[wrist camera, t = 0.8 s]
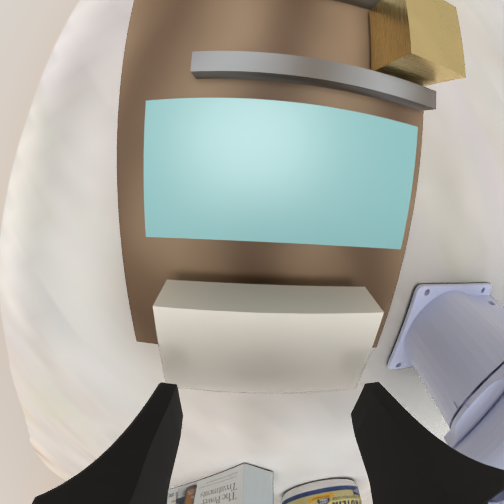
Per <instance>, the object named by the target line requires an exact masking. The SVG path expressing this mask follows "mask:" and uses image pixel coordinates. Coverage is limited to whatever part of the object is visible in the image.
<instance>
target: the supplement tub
mask: <svg viewBox="0 0 504 504" xmlns="http://www.w3.org/2000/svg"><path fill="white" fill-rule="evenodd" d="M281 503H282V504H362V503H361V498H360V494H359V490H358V486H357V485H356V483H355V482H353V481H352V480H348V479H328V480H321V481H316V482H312V483H308V484H304V485H301V486H298V487H296V488H293V489H291V490H289V491H288V492H286V493H285V494H284V496H283V498H282V502H281Z"/></svg>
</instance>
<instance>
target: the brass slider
mask: <svg viewBox="0 0 504 504" xmlns="http://www.w3.org/2000/svg"><path fill="white" fill-rule="evenodd" d="M369 17H370V34H371V70H373V71H377V72H380V73H384V74H387V75H390V76H394V77H397V78H400V79H403V80H406V81H409V82H412V83H415V84H418V85H421V86H427V85H431V84H436V83H440V82H445V81H450V80H455V79H460V78H466V76H465V63H464V54H463V45H462V38H461V32H460V26H459V21H458V15H457V11H456V7H455V6H453V5H451V4H449V3H447V2H446V1H444V0H380V1H379V2H378V3H377V4H376V5H375V6H374V7H373V8H372V9H371V10H370V11H369Z"/></svg>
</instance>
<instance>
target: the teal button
mask: <svg viewBox="0 0 504 504" xmlns="http://www.w3.org/2000/svg"><path fill="white" fill-rule="evenodd" d="M417 133H418V127H416V126H413V125H409V124H406V123H402V122H398V121H394V120H391V119H387V118H382V117H378V116H374V115H369V114H365V113H360V112H355V111H350V110H344V109H338V108H332V107H326V106H320V105H312V104H305V103H296V102H287V101H276V100H264V99H246V98H178V99H161V100H148V101H146V107H145V126H144V212H145V231H146V237H162V238H188V239H212V240H235V241H256V242H277V243H297V244H316V245H335V246H353V247H370V248H387V249H401V246H402V241H403V237H404V232H405V227H406V221H407V216H408V210H409V204H410V198H411V191H412V184H413V176H414V167H415V158H416V147H417Z"/></svg>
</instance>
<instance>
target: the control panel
mask: <svg viewBox="0 0 504 504" xmlns="http://www.w3.org/2000/svg"><path fill="white" fill-rule="evenodd" d="M379 1H380V0H134V3H133V8H132V12H131V17H130V22H129V27H128V33H127V39H126V45H125V52H124V59H123V66H122V75H121V85H120V96H119V110H118V130H117V187H118V209H119V223H120V235H121V246H122V255H123V263H124V271H125V279H126V285H127V292H128V298H129V304H130V310H131V315H132V321H133V326H134V331H135V336H136V340H137V341H138V342H146V343H154V344H158V339H157V333H156V326H155V319H154V312H153V305H154V303H155V301H156V299H157V297H158V295H159V293H160V291H161V290H162V288H163V286H164V284H165V282H166V280H167V279H168V280H184V281H201V282H220V283H241V284H266V285H297V286H347V287H366V289H367V290H368V291H369V293H370V294H371V295H372V297H373V298H374V299H375V301H376V302H377V304H378V305H379V306H380V308H381V309H382V310H383V312H384V314H383V317H382V320H381V323H380V326H379V329H378V332H377V335H376V338H375V341H374V344H373V346H372V348H374V347H377V344H378V341H379V338H380V336H381V333H382V330H383V327H384V324H385V321H386V318H387V315H388V312H389V309H390V305H391V302H392V299H393V295H394V292H395V288H396V285H397V281H398V278H399V274H400V270H401V266H402V262H403V258H404V254H405V249H406V245H407V240H408V235H409V230H410V225H411V220H412V215H413V209H414V203H415V197H416V190H417V183H418V175H419V166H420V156H421V145H422V130H423V110H432V109H436V91H434V90H431V89H429V88H426V87H423V86H421V85H418V84H415V83H412V82H409V81H406V80H403V79H400V78H397V77H394V76H390V75H387V74H384V73H380V72H377V71H373V70H371V34H370V17H369V11H370V10H371V9H372V8H373V7H374V6H375V5H376V4H377V3H378V2H379ZM178 98H246V99H264V100H276V101H287V102H296V103H305V104H312V105H320V106H326V107H332V108H338V109H344V110H350V111H355V112H360V113H365V114H369V115H374V116H378V117H382V118H387V119H391V120H394V121H398V122H402V123H406V124H409V125H413V126H416V127H418V133H417V147H416V158H415V167H414V176H413V184H412V191H411V198H410V204H409V210H408V216H407V221H406V227H405V232H404V237H403V241H402V246H401V249H387V248H370V247H353V246H335V245H316V244H297V243H277V242H256V241H235V240H212V239H188V238H162V237H146V231H145V212H144V126H145V107H146V101H148V100H161V99H178Z"/></svg>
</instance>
